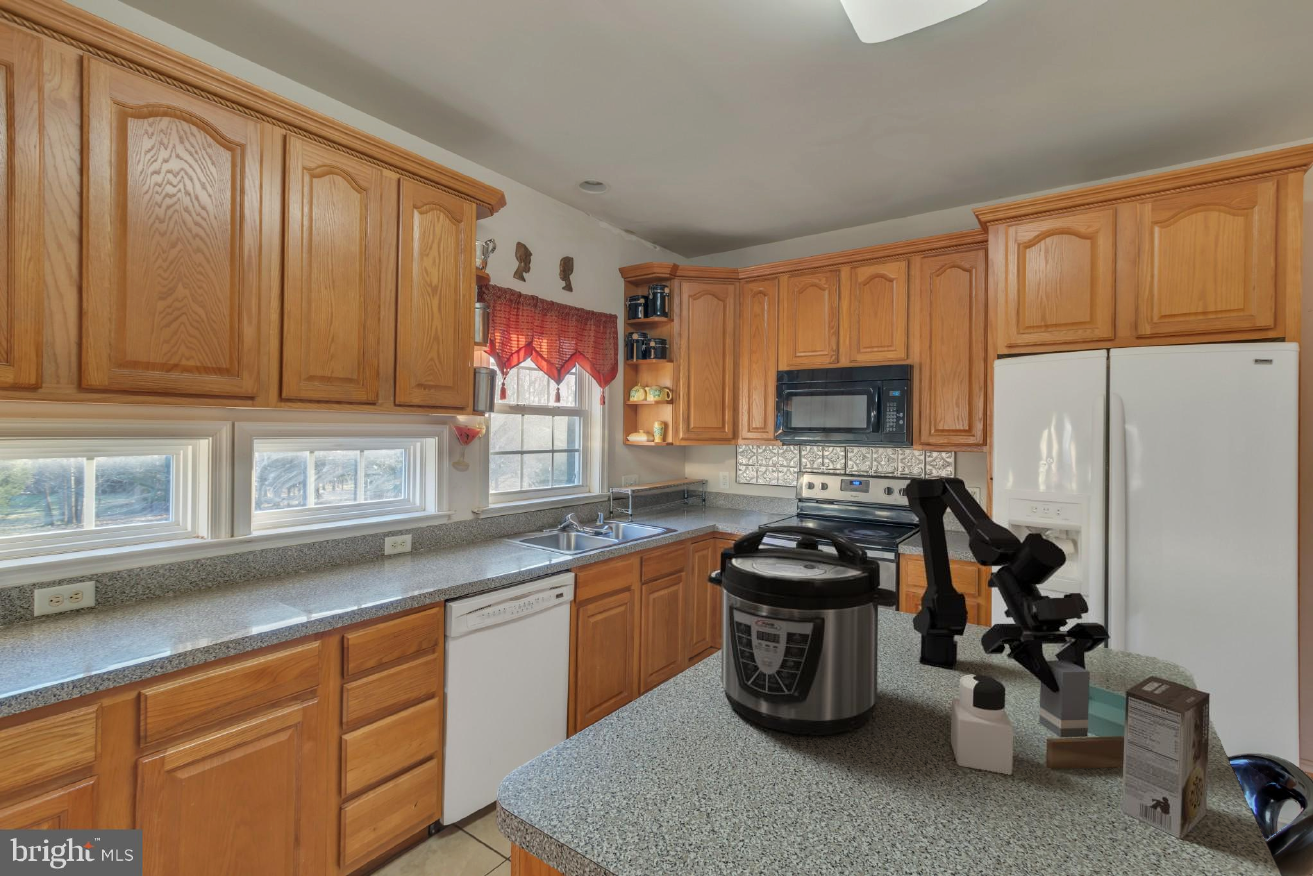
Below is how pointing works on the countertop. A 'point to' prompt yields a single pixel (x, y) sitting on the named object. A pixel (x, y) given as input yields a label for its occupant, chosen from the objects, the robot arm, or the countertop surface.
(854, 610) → the pressure cooker
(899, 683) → the countertop surface
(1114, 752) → the back rail
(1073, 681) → the grey upright cuboid
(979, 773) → the countertop surface
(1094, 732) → the tray
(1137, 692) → the coffee box
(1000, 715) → the medicine bottle
